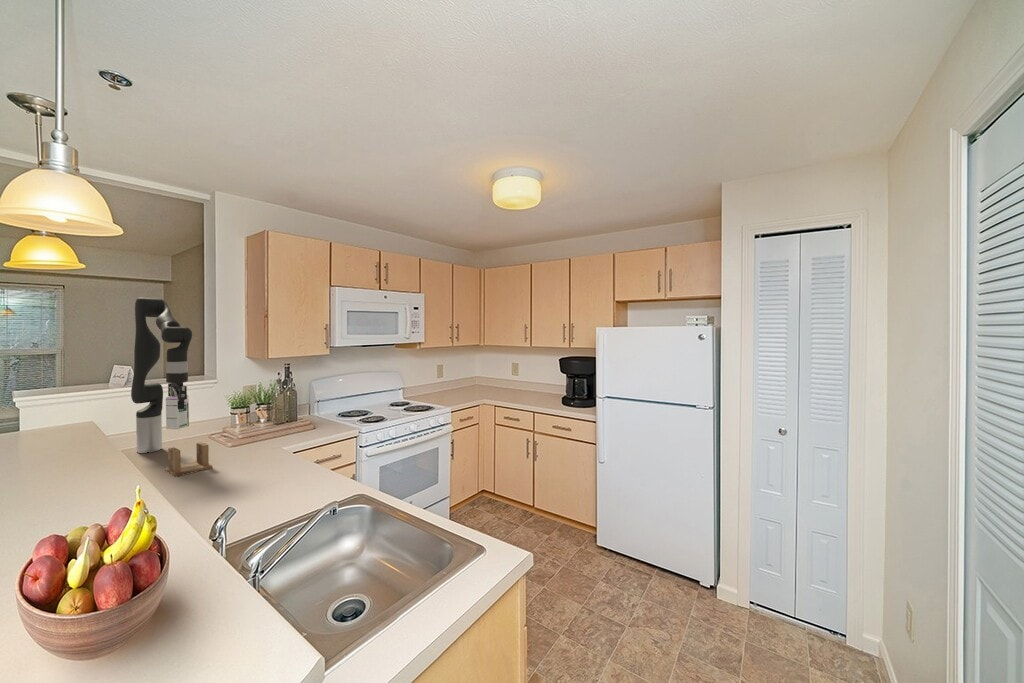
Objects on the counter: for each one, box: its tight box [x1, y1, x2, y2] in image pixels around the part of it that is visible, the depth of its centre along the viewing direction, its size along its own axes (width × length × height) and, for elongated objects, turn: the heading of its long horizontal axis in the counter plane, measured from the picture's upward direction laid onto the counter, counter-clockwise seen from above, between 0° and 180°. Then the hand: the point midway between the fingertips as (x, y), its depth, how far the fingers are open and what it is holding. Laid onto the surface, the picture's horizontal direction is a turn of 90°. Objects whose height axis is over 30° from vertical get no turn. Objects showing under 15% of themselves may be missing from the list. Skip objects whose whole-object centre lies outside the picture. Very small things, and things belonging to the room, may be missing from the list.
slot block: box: [164, 441, 213, 478], centre depth 172 cm, size 12×13×10 cm
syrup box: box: [165, 394, 190, 430], centre depth 178 cm, size 6×6×14 cm
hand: (177, 407), depth 178 cm, fingers closed on syrup box, 7 cm apart
